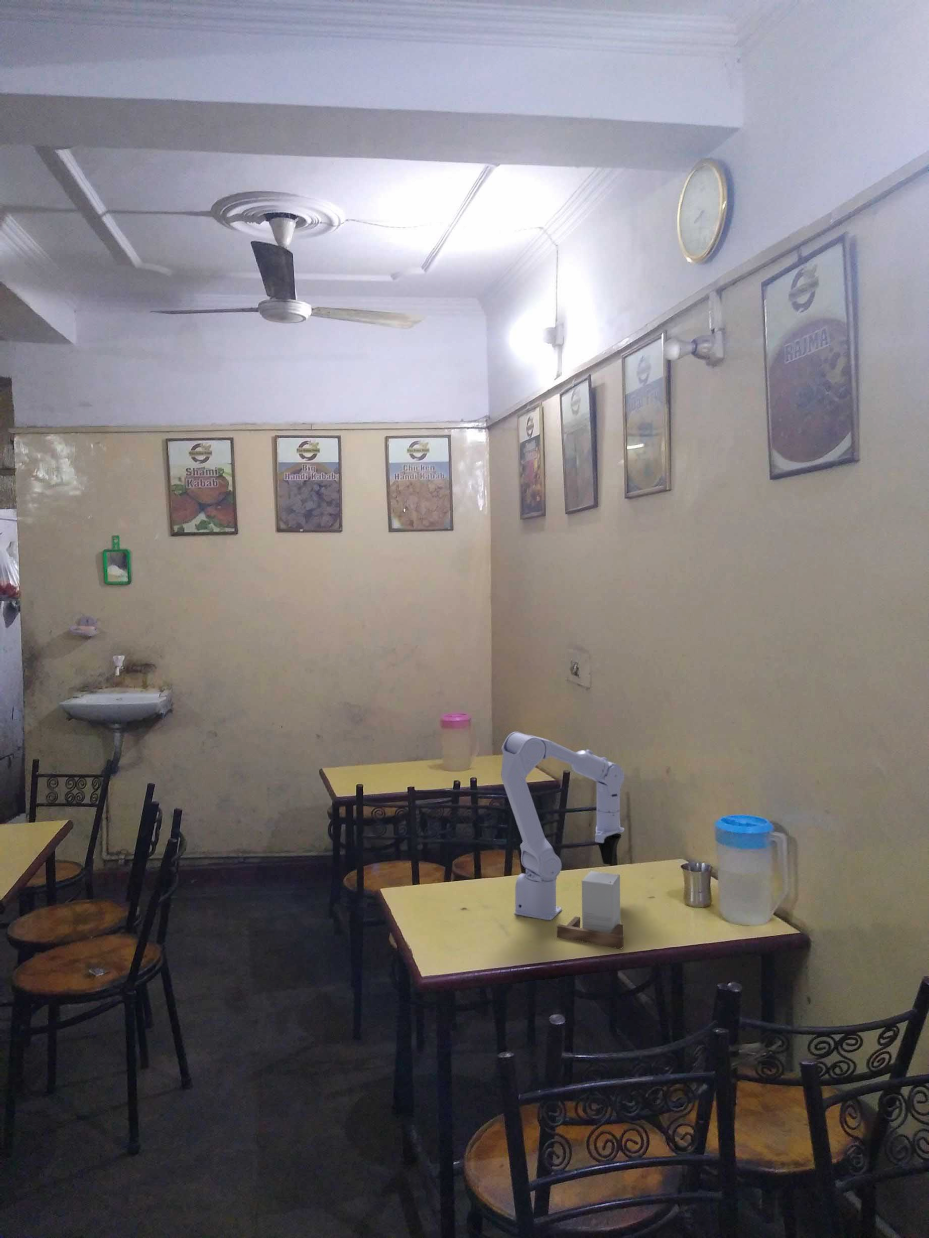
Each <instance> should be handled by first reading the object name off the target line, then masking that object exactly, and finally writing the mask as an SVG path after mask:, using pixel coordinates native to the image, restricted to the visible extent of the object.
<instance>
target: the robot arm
mask: <svg viewBox="0 0 929 1238" xmlns="http://www.w3.org/2000/svg"><path fill="white" fill-rule="evenodd" d="M501 752H502V762H501V771H500V776H501V781H502V784H503V787H504V790H505V792H506V796H507V799H508V801H509V804H510V808H511V810H512V813H513V816H514V819H515V822H516V825H517V828H518V831H519V833H520V834H519V835H520V837H521V840H522V843H520V845H519V848H520V850H521V852H520V853H521V857H520V861H521V862H520V863H521V865H522V866H523V867H524V869H525V873H520V874H519V875H518V877H517V879H516V881H515V890H514V891H515V894H514V896H515V897H514V898H515V899H514V901H515V902H514V903H515V905H514V907H515V908H514V909H515V911H513V914H514V915H517V916H522V917H528V918H533V919H540V920H546V921H552V920H553V919H554V918H555V917H556V916H557V915H558V914H559V913H560V912H561V911H562V910H563V908H562V907H561V906H557V879H558V878H557V877H559V874H560V873H561V870H562V867H563V865H562V861H561V858H560V857H559V856H558V855H557V854H556V853H555V851H554V848H553V846H552V845H551V844H550V842H549V841H548V839H547V838H546V837H545V834H544V831H543V828H542V824H541V822H540V818H539V815H538V812H537V809H536V807H535V803H534V800H533V798H532V794H531V792H530V789H529V786H528V783H527V780H526V778H527V777H528V775H529V774H530V773H531V772H532V771H533V770H534V769H535V767H537V766H538V764H539V763H540V762H541V761H542V760H547V759H549V758H550V757H551V758H554V759H557V760H559V761H562V762H564V763H565V764H566V763H567V764H570V765H571V770H572V771H573V772H574V773H576V774H579V775H582V776H584V777H585V778H588V779H590V780H593V781H594V782H596V826H595V834H594V841H595V843H596V844H597V846H598V848H599V851H600V856H601V860H602V863H603V864H604V865H612V864H613V863H614V859H615V855H616V851H617V846H618V844H619V842H620V839H621V838H622V833H624V832H625V827H621V820H620V819H621V816H620V815H621V812H620V810H621V809H620V808H621V806H620V805H621V796H620V794H621V792H622V791H621V790H622V784H623V782H624V781H625V777H626V774H625V773H624V770H623V768H621V766H620V765H619V764H617V763H615V762H612V761H608V758H607V757H605V756H602V757H599V756H597V755H596V754H594V751H592V750H590V749H586V750H584V749H583V750H582V749H581V750H578V751H573V750H571V749H570V748H567V747H565V746H562V745H560V744H558V743H557V742H554V741H552V740H549V739H547V738H543V737H540V736H535V735H532V734H526V733H523V732H521V731H513V732H511V733H509V734H508V735H507V737H506V738H505V740H504V742H503V743H502V746H501Z"/></svg>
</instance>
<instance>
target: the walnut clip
mask: <svg viewBox="0 0 929 1238" xmlns="http://www.w3.org/2000/svg"><path fill="white" fill-rule="evenodd" d="M556 938H560V939H567V940H571V941H577V942H582V941H583V943H587V942H588V944H592V943H593V944H594V945H598V946H603V945H604V947H608V946H609V948H614V947H616V948H615V949H619V948H622V947H623V948H624V924H621V923H620V924H618V925H617V926H616V927H615V928H614V929H613V931H612V932H611V933H605V932H600V931H594V930H589V929H583V928H582V927H581V917H580V916H574V917H573V918H572V919H571V920H570V921H569V922H568V923H567V924H560V923H559V924H557V925H556ZM623 948H622V949H623Z"/></svg>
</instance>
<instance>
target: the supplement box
mask: <svg viewBox="0 0 929 1238" xmlns="http://www.w3.org/2000/svg"><path fill="white" fill-rule="evenodd" d="M581 914H582V915H581V917H582V918H581V920H582V927H581V928H583V929H589V930H594V931H600V932H605V933H611V932H612V931H613V929H614V928H615V927H616V926H617V925H618V924H621V876H620V874H617V873H609V872H603V871H602V872H600V871H594V870H593V871H592V870H590V871H589V872H588V873H587V874H586V876H585V877H584V878H582V880H581Z"/></svg>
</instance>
